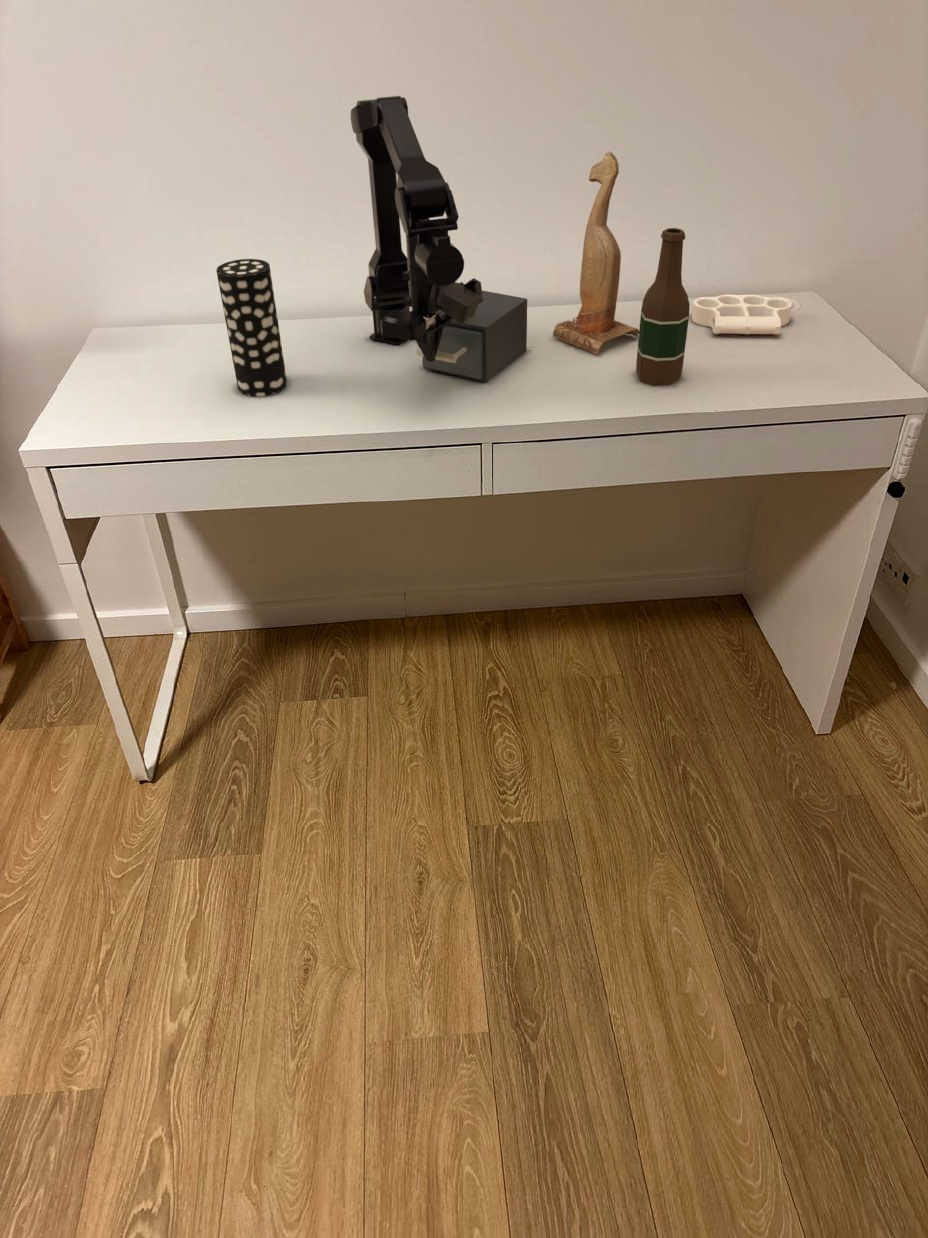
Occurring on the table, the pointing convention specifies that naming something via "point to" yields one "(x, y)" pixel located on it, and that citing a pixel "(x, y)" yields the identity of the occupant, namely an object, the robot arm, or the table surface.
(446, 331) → the drawer
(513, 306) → the cabinet
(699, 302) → the white brass knuckles
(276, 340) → the spotted tube
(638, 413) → the table surface
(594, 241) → the bird sculpture
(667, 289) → the beer bottle
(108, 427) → the table surface
